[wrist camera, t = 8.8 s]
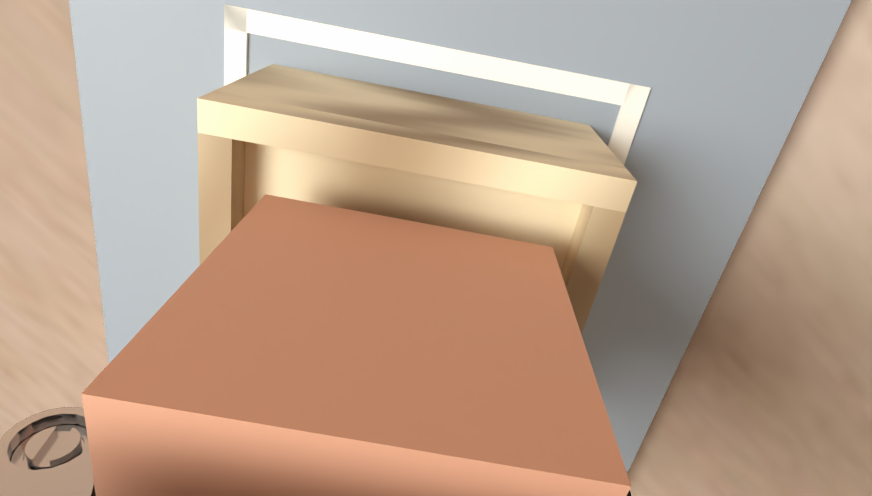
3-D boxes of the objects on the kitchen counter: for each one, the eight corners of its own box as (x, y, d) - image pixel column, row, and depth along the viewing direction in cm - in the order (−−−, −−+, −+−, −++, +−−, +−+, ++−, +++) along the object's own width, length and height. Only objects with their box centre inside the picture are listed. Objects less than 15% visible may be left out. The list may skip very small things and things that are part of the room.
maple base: (589, 124, 16) (637, 181, 11) (513, 372, 20) (526, 484, 15) (272, 64, 15) (197, 98, 11) (260, 329, 19) (201, 431, 15)
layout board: (851, -53, 14) (880, -56, 13) (607, 481, 23) (614, 503, 22) (71, -216, 13) (40, -232, 12) (129, 401, 22) (113, 421, 21)
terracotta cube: (552, 247, 11) (631, 486, 6) (489, 453, 14) (504, 747, 9) (265, 194, 11) (81, 393, 6) (256, 413, 14) (123, 690, 8)
